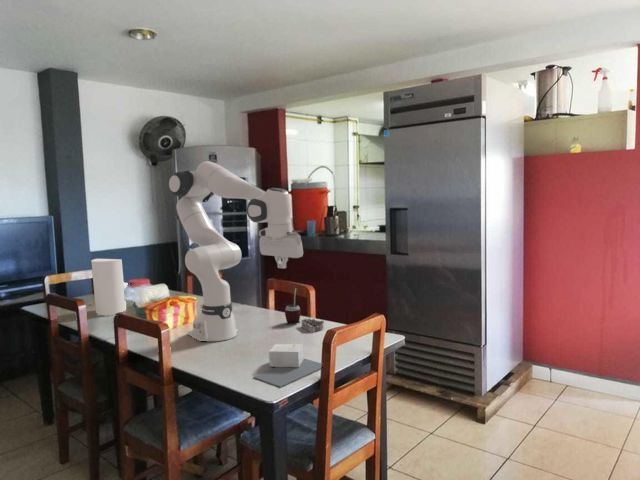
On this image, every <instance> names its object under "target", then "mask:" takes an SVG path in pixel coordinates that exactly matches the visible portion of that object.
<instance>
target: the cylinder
mask: <svg viewBox="0 0 640 480" xmlns="http://www.w3.org/2000/svg"><path fill="white" fill-rule="evenodd" d="M90 261H91V272H92V281H93V293H94V301H95V313H99V314H114V313H115V314H116V313H118V312H123V311H125V310H126V301H125V300H124V289H125V288H126V287H127V285H128V283H129V282H125V281H124V271H123V270H124V268H123V261H122V259H121V258H120V259H117V258H94V259H91V260H90Z"/></svg>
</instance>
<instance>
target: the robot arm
mask: <svg viewBox="0 0 640 480" xmlns="http://www.w3.org/2000/svg"><path fill="white" fill-rule="evenodd" d="M167 184H168V185H167V187H168V190H169V192H170V193H171V194H172V195H173V196H176V197H179V198H180V199H179V200H178V201H177V203H176V207H175V208H176V210H177V215H178V218H179V221H180V223H181V225H182V227H183V229H184V231H185V233H186V234H187V237H188V238H189V240H190V241H191V242H192V243H194V244H195V245H197V247H195V248H192V249H190V250H188V251H187V252H186V254H185V257H184V263H185V266H186V268H187V270H188V271H189V272H190V273H191V274H193V275H195V276H196V278H197V279H198V281H199V283H200V285H201V289H202V298H203V304H201V305H199V306H200V308H201V313H200V314H199V315H198V316H197V317H195V319H194V320H193V322H192V329H191V330H189V331H188V332H187V335H188V336H189V335H190V336H189V337H191V336H192V337H191V338H193V339H194V338H195V340H196V339H197V340H196V341H198V340H199V341H198V342H200V341H207V342H220V341H222V342H223V341H228V340H231V339H233V338H235V337H236V336H237V335H238V331H239V329H238V328H237V327H236V319H235V315H234V312H233V303H232V300H231V287H230V284H229V282H228V281H227V280H225V279H222V278H221V277H220V274H219V271H222V270H227V269H231V268H233V267H235V266H237V265H238V264H239V263H241V261H242V250H241V248H240V246H239V245H237V243H234V242H232V241H229V240H228V239H227V238H226V237H224V236H223V235H222V234H221V233H220V232H219V231H217V229H216V227H215V226H214V225H213V223H212V221H211V220H210V218H209V216H208V214H207V213H206V211H205V210H206V209H205V208H204V206H203V203H207V202H209V200H210V199H211V198H212V197H213V196H214V195H216V196H218V197H220V198H223V199H238V200H239V199H241V200H246V201H248V203H247V205H246V213H247V217H248V218H249V220H250V221H251V222H252V223H257V224H258V223H259V224H260V223H267V227H265V228H263V229H260V230H259V231H258V235H259V236H260V237H259V252H260V255H262V256H271V257H274V259H275V262H276V265H277V268H278V269H287V262H288V261H289V258H291V259H300V258H303V255H304V247H303V242H302V238H301V237H302V236H301V235H300V233H298V232H297V231H295V232H293V227H292V220H291V213H292V208H291V199H290V198H291V197H290V193H289V192H288V190H287V189H285V188H280V187H279V188H278V187H269V188H267V190H264V189H262V188H260V186H259V187H258V186H256V185H255V184H253V183H251V182H249V181H247V180H245V179H243V178H241V177H240V176H238V175H236V174H235V173H233V172H231V171H230V170H228V168H225V167H223V166H222V165H220V164H217V163H215V162H213V161H210V160H209V161H208V160H206V161H203V162H201V163H200V164H199V165H198V166H197V168H196V170H195V171H190V170H181V171H175V172H174V173H172V174H170V176H169V179H168V181H167ZM198 245H199V246H198Z"/></svg>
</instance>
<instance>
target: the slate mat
mask: <svg viewBox="0 0 640 480" xmlns="http://www.w3.org/2000/svg"><path fill="white" fill-rule="evenodd" d="M320 370H322V369H321V362H318V361H315V360H311V359H308V358H304V360H303V361H302V363H301V365H300V366H299V367H272V368H271V369H269V370H265V371H264V372H261V373H259V374H256V375H253V377H252V378H253V379H255V380H259V381H262V382H264V383H267V384H270V385H272V386H276V387H278V388H283V387H285V386H287V385H289V384H292V383H294V382H296V381H298V380H300V379H303V378H305V377H307V376H309V375H311V374H313V373H315V372H317V371H318V372H319V371H320Z"/></svg>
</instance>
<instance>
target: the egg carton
mask: <svg viewBox="0 0 640 480" xmlns="http://www.w3.org/2000/svg"><path fill="white" fill-rule="evenodd" d="M300 322H301V328H302V329H304V330H305V331H308V332H311V333H316V331H323V330H324V323H325V321H324V320H316V319H314V318H312V319H311V318H304V319H302V318H300Z"/></svg>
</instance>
